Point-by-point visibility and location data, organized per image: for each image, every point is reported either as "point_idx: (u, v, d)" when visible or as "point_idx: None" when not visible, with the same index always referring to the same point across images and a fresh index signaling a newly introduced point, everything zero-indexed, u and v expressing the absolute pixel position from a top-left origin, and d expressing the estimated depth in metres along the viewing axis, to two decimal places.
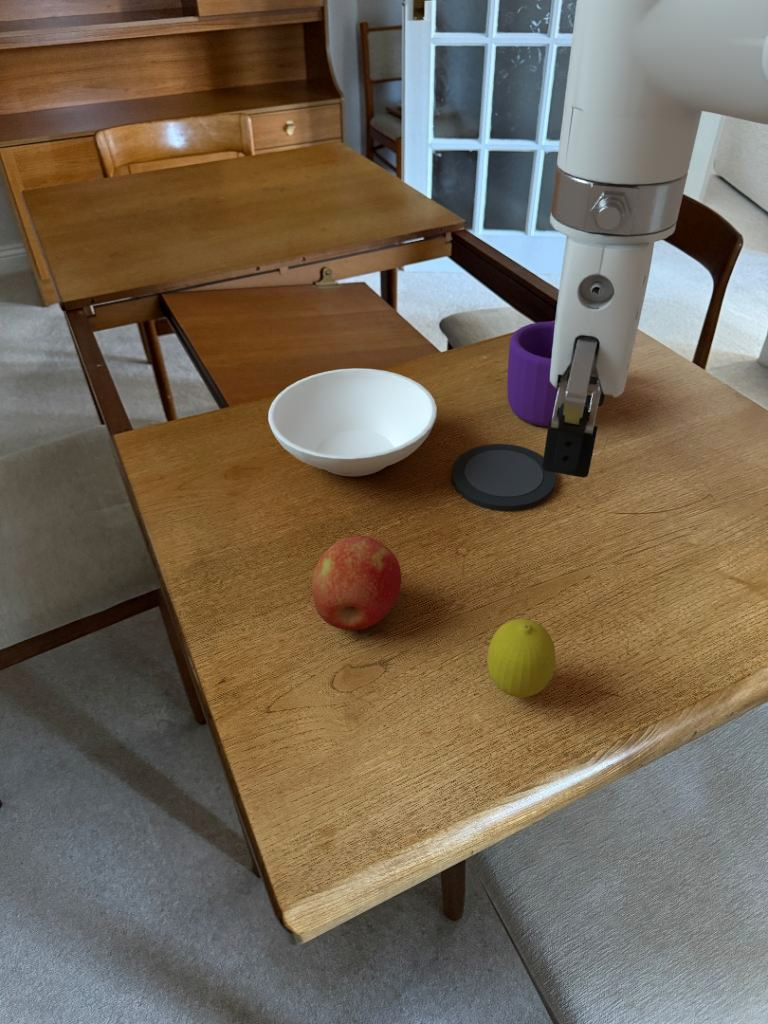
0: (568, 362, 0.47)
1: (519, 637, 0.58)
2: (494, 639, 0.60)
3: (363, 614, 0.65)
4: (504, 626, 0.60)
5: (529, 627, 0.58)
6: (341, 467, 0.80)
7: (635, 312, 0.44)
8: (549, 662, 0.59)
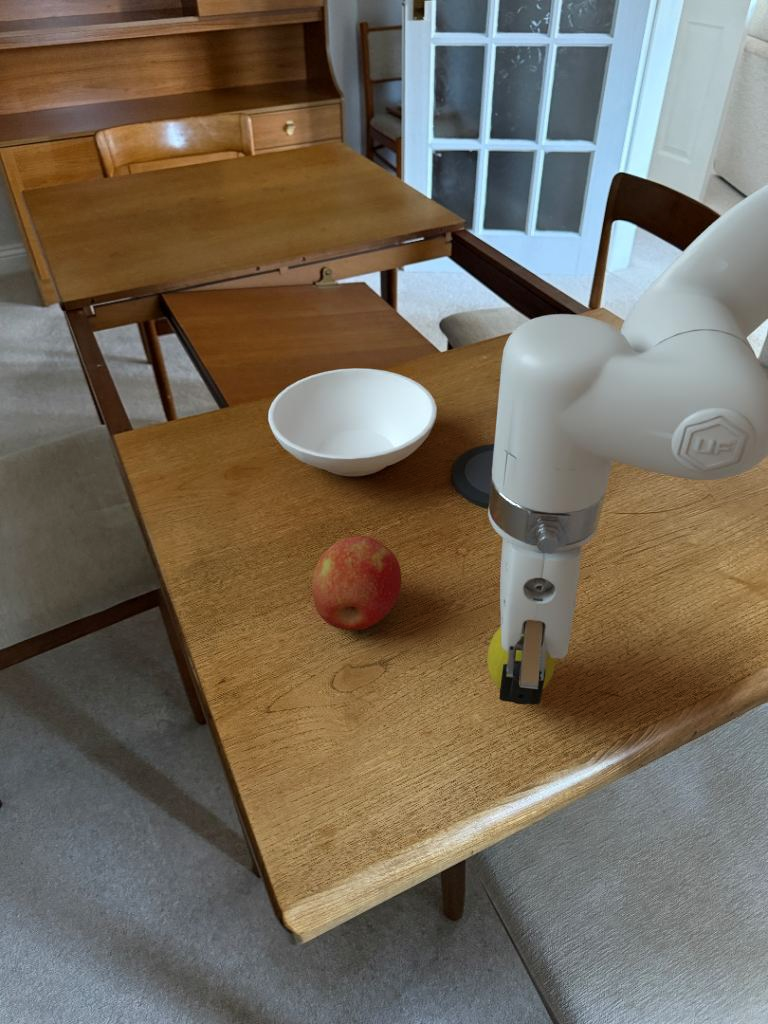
0: (518, 638, 0.52)
1: None
2: (494, 639, 0.60)
3: (363, 614, 0.65)
4: None
5: None
6: (341, 467, 0.80)
7: (574, 601, 0.50)
8: (549, 662, 0.59)
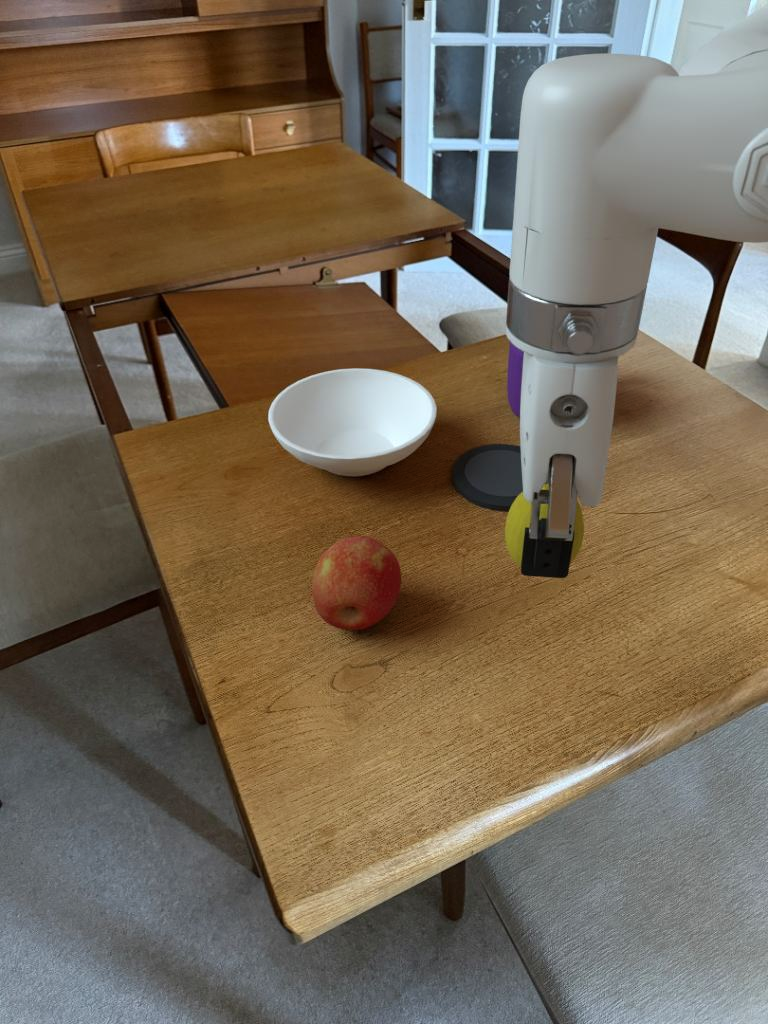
0: (544, 480, 0.44)
1: None
2: (513, 506, 0.52)
3: (363, 614, 0.65)
4: None
5: None
6: (341, 467, 0.80)
7: (611, 427, 0.42)
8: (577, 528, 0.51)
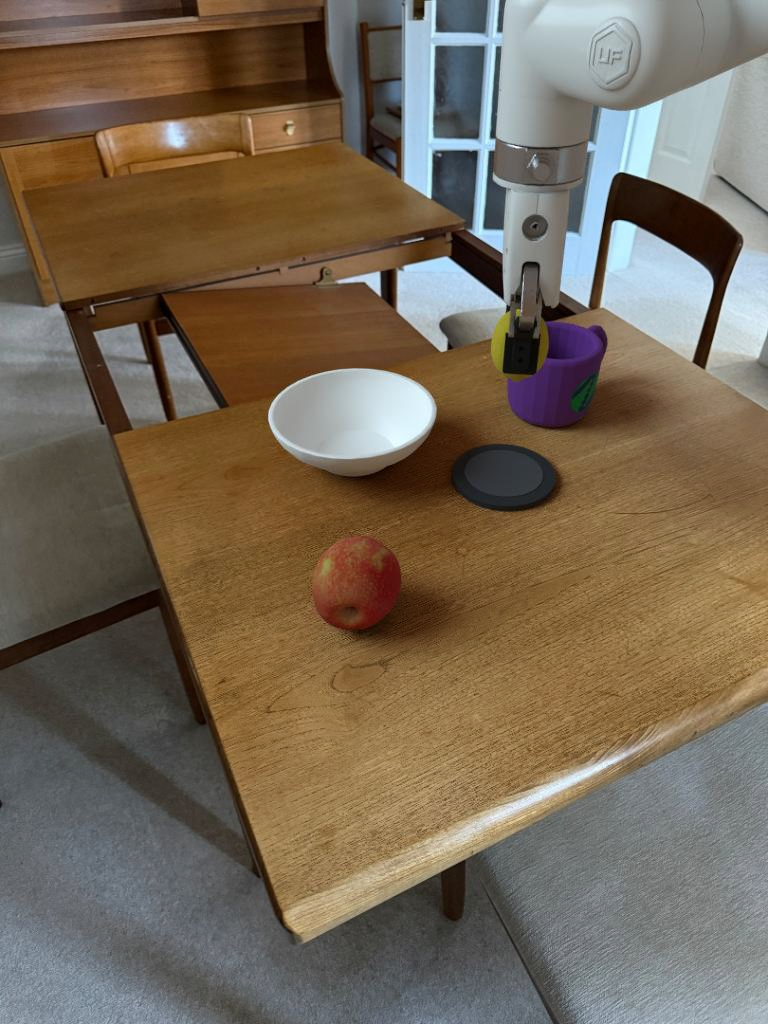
0: (518, 283, 0.63)
1: (518, 315, 0.70)
2: (497, 324, 0.71)
3: (363, 614, 0.65)
4: None
5: None
6: (341, 467, 0.80)
7: (563, 240, 0.61)
8: (543, 337, 0.70)
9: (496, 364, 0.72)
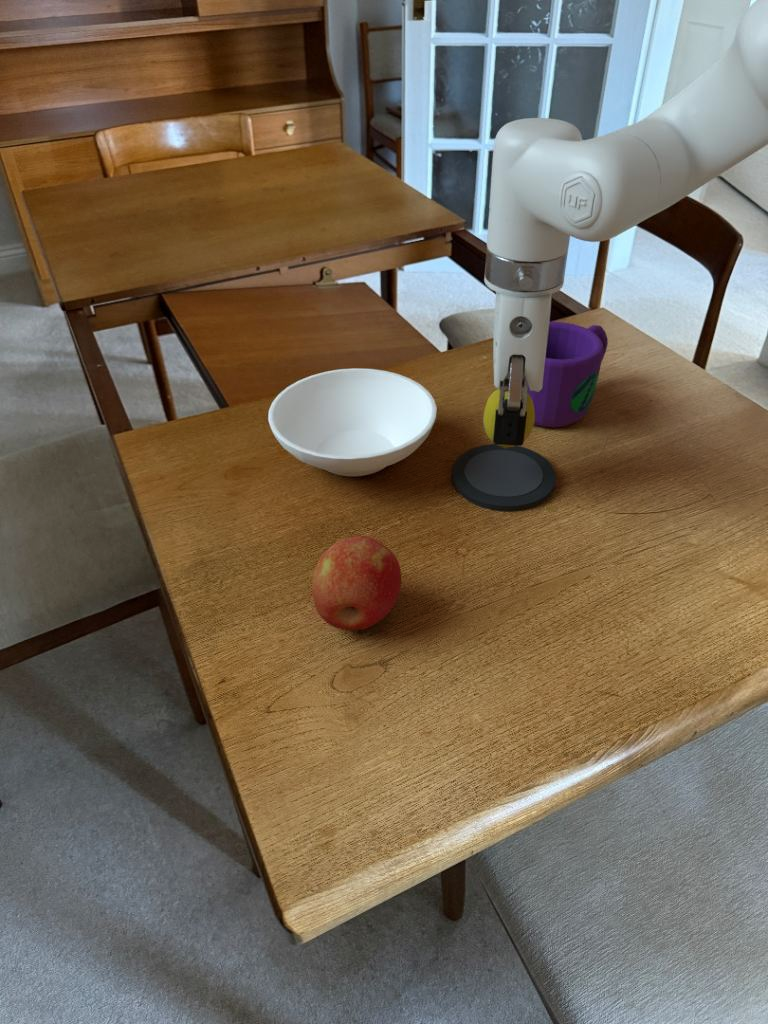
0: (506, 372, 0.72)
1: (507, 393, 0.78)
2: (488, 399, 0.80)
3: (363, 614, 0.65)
4: (496, 390, 0.80)
5: None
6: (341, 467, 0.80)
7: (546, 337, 0.70)
8: (529, 413, 0.79)
9: (488, 434, 0.81)
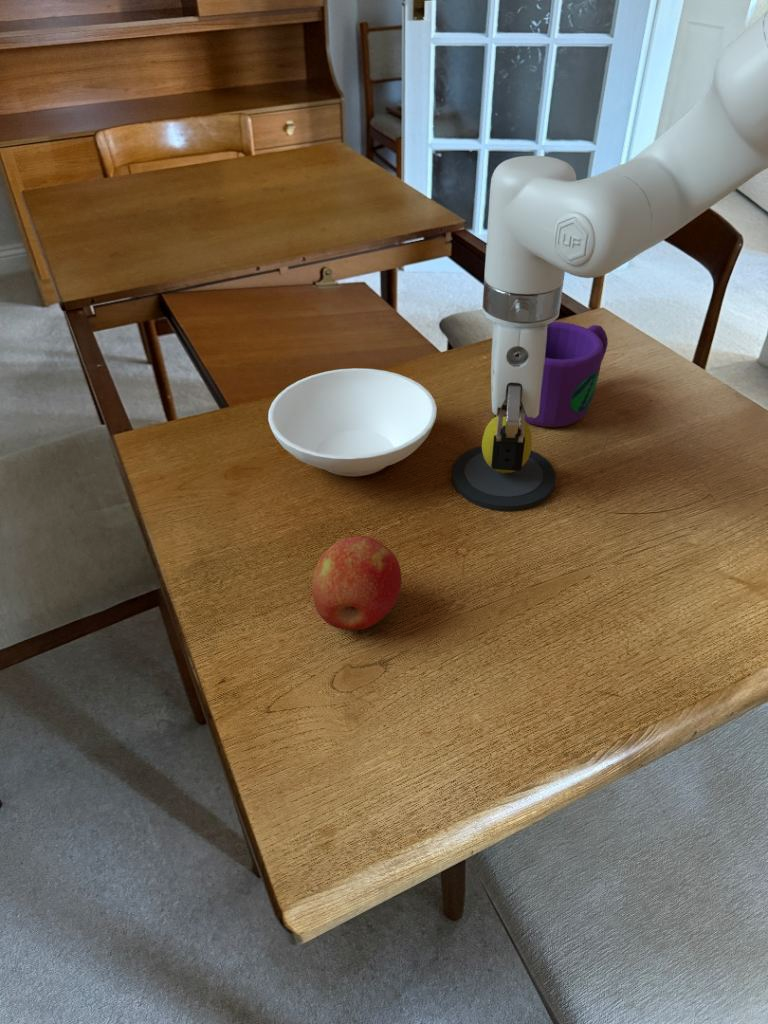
0: (503, 399, 0.74)
1: (505, 421, 0.80)
2: (487, 427, 0.82)
3: (363, 614, 0.65)
4: None
5: None
6: (341, 467, 0.80)
7: (542, 366, 0.72)
8: (526, 440, 0.81)
9: (486, 460, 0.83)
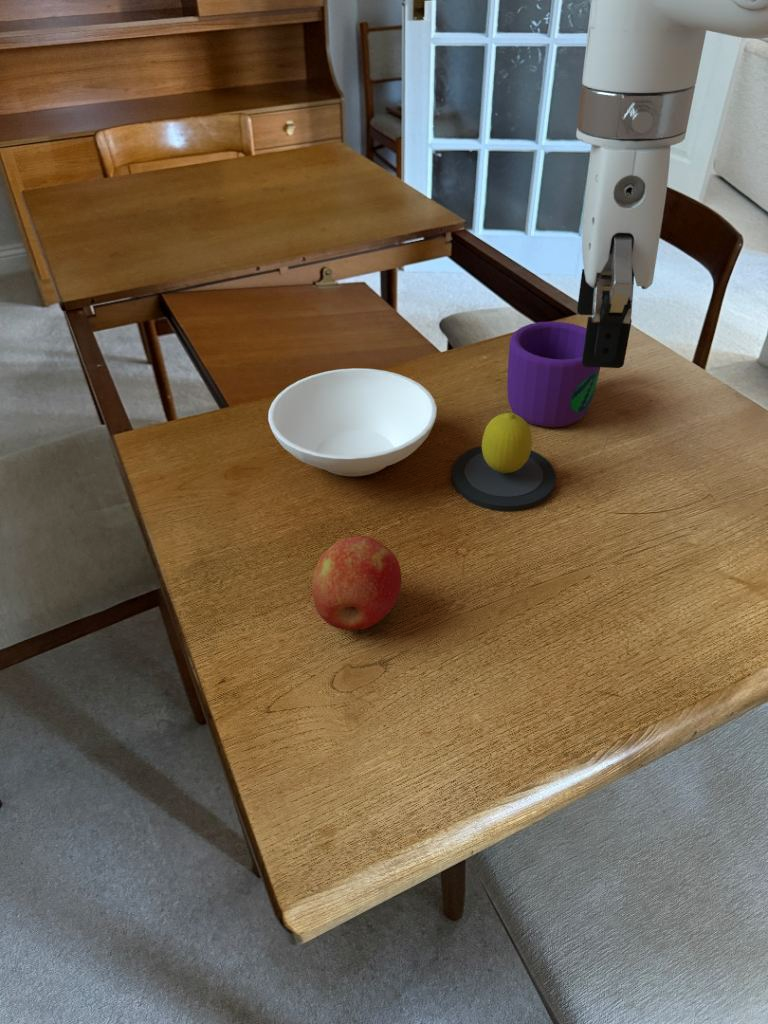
0: (606, 260, 0.54)
1: (505, 421, 0.80)
2: (487, 427, 0.82)
3: (363, 614, 0.65)
4: None
5: (512, 414, 0.81)
6: (341, 467, 0.80)
7: (663, 207, 0.51)
8: (526, 440, 0.81)
9: (486, 460, 0.83)
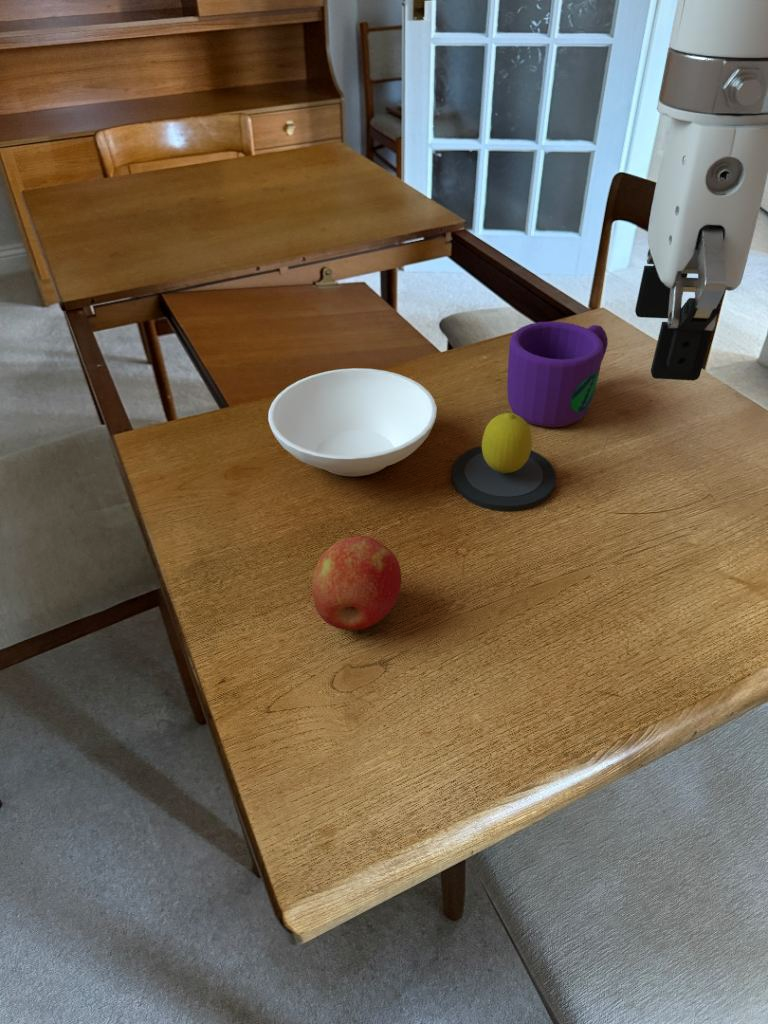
0: (690, 256, 0.46)
1: (505, 421, 0.80)
2: (487, 427, 0.82)
3: (363, 615, 0.65)
4: None
5: (512, 414, 0.81)
6: (341, 467, 0.80)
7: (762, 195, 0.44)
8: (526, 440, 0.81)
9: (486, 460, 0.83)
